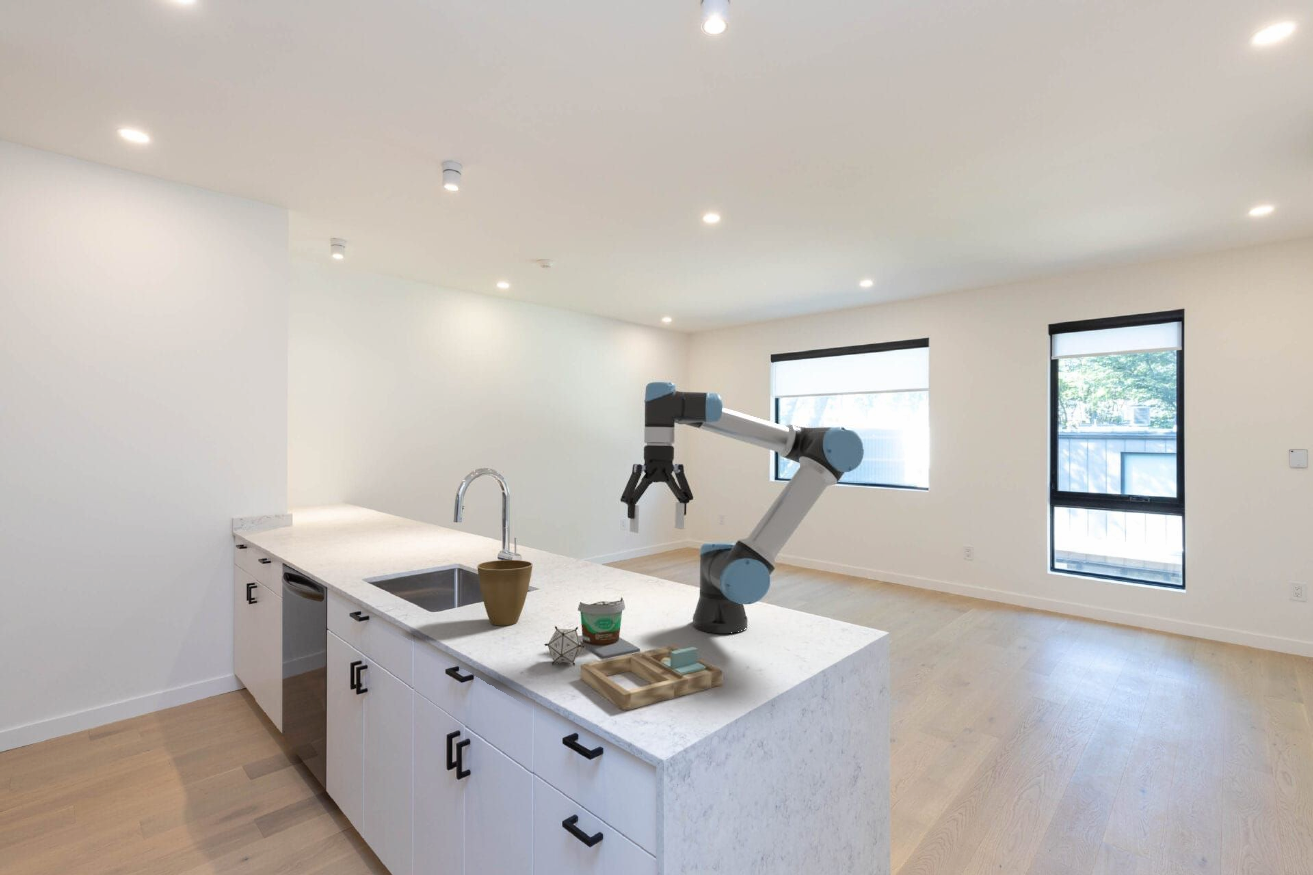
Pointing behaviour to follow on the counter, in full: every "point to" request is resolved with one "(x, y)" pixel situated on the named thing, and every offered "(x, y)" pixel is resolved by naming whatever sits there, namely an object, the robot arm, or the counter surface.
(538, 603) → the counter surface
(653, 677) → the wooden compartment tray
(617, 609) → the food container
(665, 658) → the ball
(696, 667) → the cover
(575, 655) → the game die
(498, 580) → the plant pot
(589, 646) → the mat
